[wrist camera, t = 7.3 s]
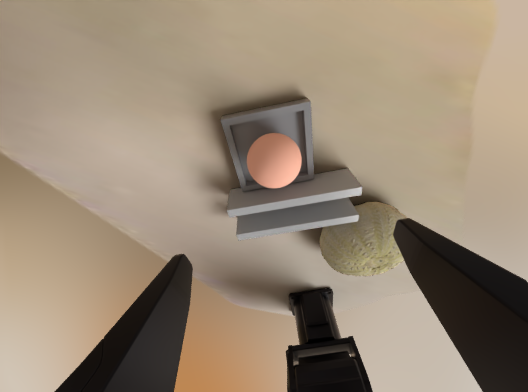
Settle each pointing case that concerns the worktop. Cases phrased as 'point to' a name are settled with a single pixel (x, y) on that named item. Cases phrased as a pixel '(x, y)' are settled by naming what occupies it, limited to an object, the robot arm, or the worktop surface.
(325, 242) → the sea urchin shell
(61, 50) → the worktop surface
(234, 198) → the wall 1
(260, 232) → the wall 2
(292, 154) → the ball
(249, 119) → the coaster
